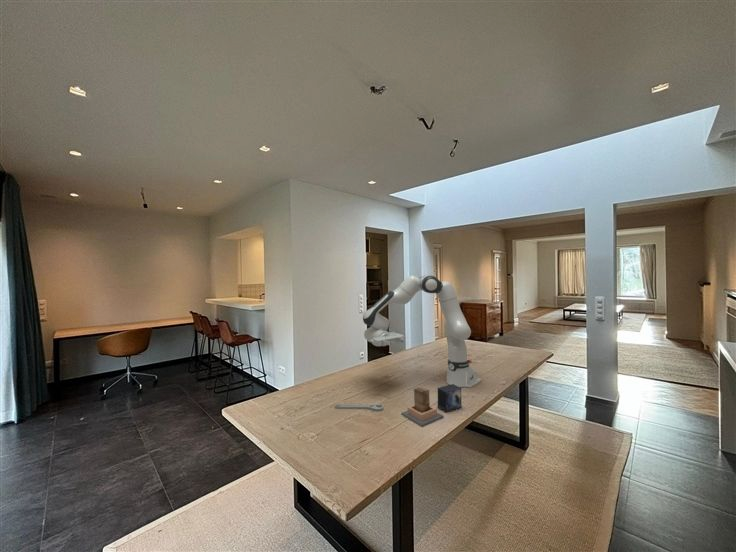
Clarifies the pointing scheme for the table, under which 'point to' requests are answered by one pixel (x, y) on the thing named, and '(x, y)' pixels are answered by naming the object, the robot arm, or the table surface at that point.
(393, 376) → the table surface
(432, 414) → the dock
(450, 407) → the small box
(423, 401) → the walnut block
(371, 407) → the adjustable wrench
